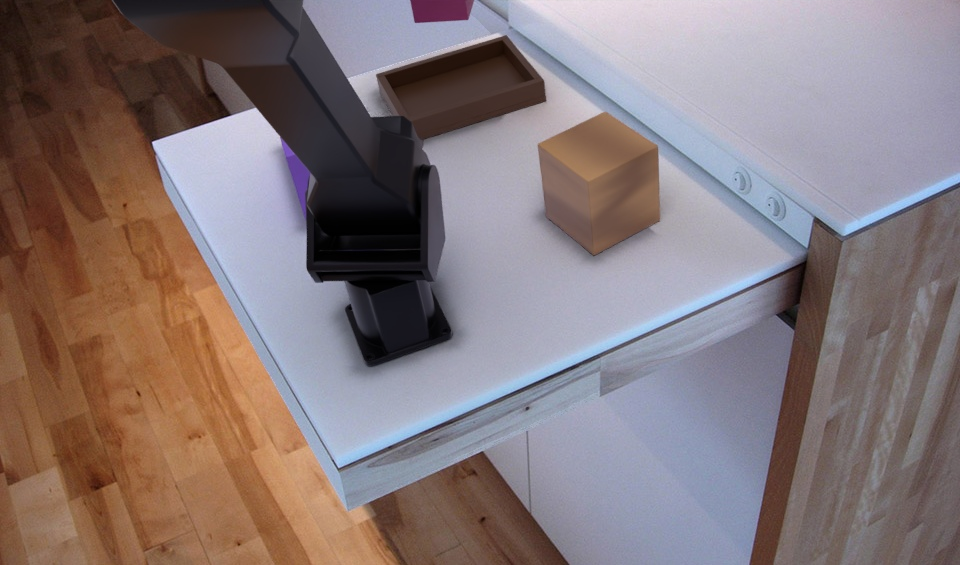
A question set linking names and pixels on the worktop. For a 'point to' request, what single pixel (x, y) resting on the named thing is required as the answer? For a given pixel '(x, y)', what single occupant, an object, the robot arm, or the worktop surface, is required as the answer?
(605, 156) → the oak block
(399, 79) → the tray
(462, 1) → the mulberry block
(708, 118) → the worktop surface
